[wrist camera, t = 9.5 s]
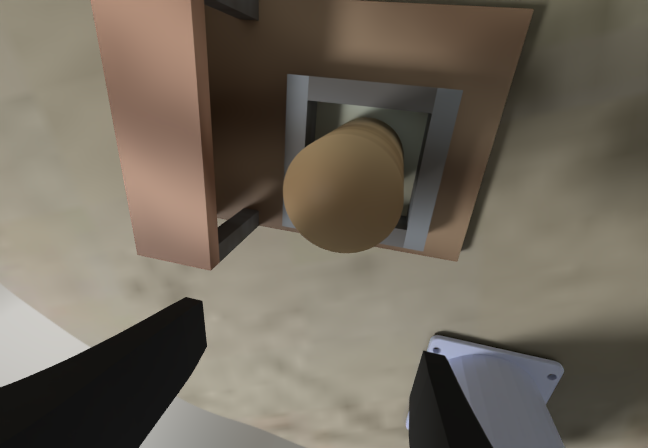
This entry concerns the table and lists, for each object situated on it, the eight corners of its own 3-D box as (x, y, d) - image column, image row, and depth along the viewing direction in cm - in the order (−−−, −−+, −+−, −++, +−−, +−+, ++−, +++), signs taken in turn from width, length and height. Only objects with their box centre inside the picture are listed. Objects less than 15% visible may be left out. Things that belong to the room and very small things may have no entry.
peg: (395, 199, 17) (390, 263, 11) (324, 187, 18) (280, 240, 11) (411, 123, 15) (416, 146, 9) (331, 112, 16) (285, 127, 10)
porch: (454, 253, 19) (478, 328, 13) (209, 209, 21) (137, 254, 16) (525, 14, 14) (616, -42, 8) (195, -3, 16) (80, -54, 11)
